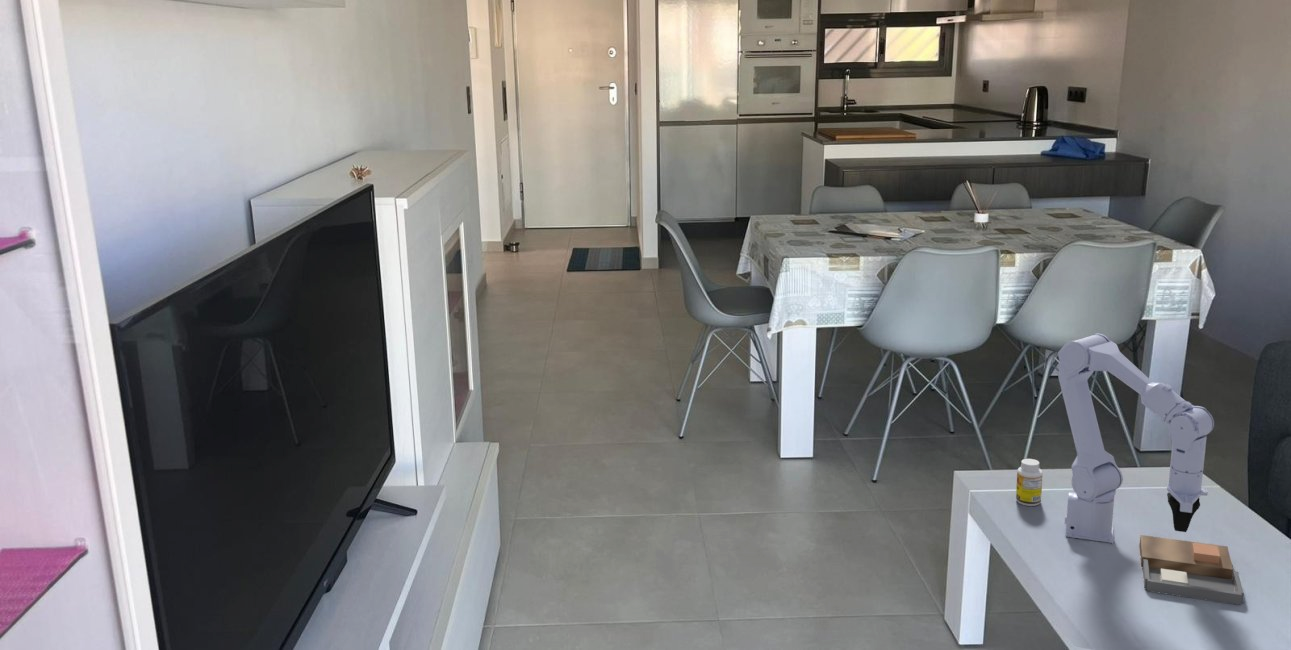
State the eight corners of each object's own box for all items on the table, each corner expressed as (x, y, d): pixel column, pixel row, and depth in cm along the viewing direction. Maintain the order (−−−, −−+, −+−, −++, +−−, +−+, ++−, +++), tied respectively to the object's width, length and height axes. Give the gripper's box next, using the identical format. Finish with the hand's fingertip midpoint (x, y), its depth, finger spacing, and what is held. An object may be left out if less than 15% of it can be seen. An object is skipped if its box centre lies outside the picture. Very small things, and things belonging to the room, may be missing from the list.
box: (1144, 590, 189) (1145, 580, 189) (1142, 568, 197) (1143, 558, 197) (1242, 605, 183) (1244, 595, 182) (1236, 582, 190) (1238, 572, 190)
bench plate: (1141, 567, 198) (1142, 556, 197) (1139, 545, 206) (1140, 534, 206) (1232, 580, 191) (1233, 569, 190) (1226, 557, 200) (1227, 546, 199)
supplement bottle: (1018, 495, 233) (1020, 455, 230) (1042, 499, 230) (1045, 459, 227) (1013, 504, 228) (1015, 464, 225) (1038, 508, 225) (1040, 468, 222)
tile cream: (1160, 568, 193) (1159, 575, 194) (1161, 579, 189) (1161, 586, 190) (1186, 572, 191) (1185, 579, 192) (1188, 583, 187) (1187, 590, 188)
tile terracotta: (1193, 560, 195) (1194, 552, 194) (1191, 549, 199) (1192, 542, 198) (1219, 563, 193) (1220, 556, 192) (1216, 553, 197) (1217, 546, 196)
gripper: (1213, 484, 183) (1206, 549, 187) (1206, 456, 196) (1200, 517, 199) (1171, 480, 186) (1164, 543, 190) (1167, 452, 199) (1161, 512, 202)
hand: (1180, 530), depth 195 cm, fingers closed
